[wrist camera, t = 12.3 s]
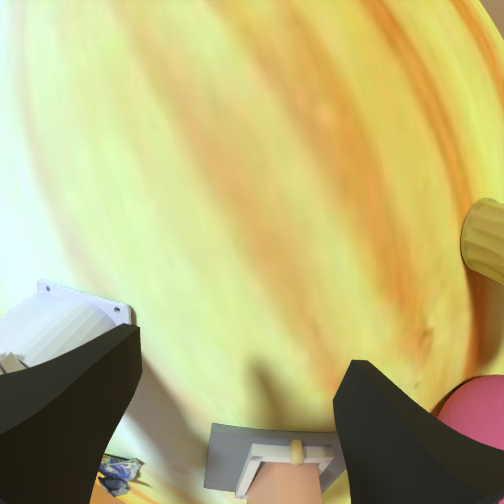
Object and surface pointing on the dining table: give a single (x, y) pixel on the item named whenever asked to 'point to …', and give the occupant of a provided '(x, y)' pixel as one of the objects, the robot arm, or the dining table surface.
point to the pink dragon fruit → (478, 411)
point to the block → (285, 484)
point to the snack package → (117, 474)
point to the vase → (484, 239)
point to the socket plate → (267, 455)
